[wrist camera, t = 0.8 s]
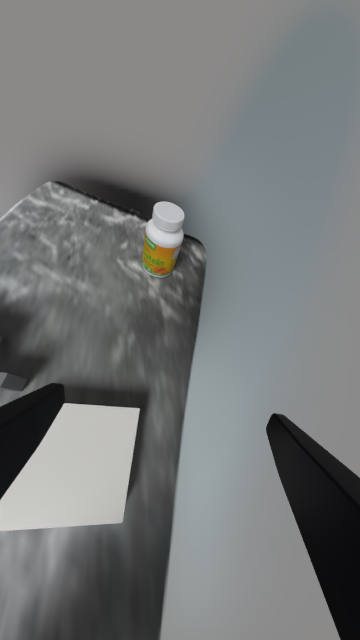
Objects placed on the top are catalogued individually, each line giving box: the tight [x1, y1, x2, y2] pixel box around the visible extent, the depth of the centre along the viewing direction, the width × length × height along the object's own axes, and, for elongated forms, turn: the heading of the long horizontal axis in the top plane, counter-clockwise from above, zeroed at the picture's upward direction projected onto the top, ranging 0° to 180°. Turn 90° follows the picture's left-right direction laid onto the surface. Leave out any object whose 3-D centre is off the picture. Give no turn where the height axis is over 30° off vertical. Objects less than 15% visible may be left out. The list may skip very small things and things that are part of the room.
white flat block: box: [0, 403, 140, 531], centre depth 15 cm, size 8×10×2 cm
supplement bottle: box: [142, 202, 184, 278], centre depth 26 cm, size 5×5×10 cm
